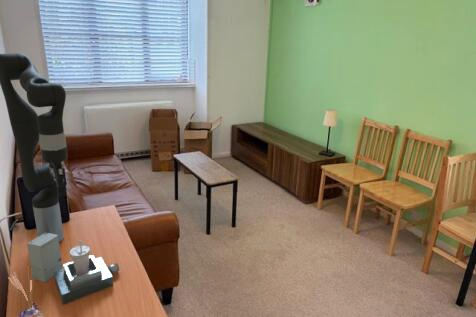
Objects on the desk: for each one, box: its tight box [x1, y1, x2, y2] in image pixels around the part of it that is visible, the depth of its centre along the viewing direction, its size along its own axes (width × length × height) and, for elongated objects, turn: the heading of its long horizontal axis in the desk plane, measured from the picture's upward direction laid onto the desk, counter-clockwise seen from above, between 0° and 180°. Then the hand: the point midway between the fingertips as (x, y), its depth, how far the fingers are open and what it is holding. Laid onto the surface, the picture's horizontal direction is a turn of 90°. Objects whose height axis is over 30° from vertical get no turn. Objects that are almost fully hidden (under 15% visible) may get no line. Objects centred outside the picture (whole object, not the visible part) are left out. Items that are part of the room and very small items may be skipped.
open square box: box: [53, 254, 120, 305], centre depth 119 cm, size 13×20×7 cm, turn 128°
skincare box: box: [26, 232, 64, 284], centre depth 121 cm, size 8×6×15 cm
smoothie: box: [69, 239, 91, 276], centre depth 116 cm, size 6×6×14 cm
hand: (59, 190), depth 115 cm, fingers open, 8 cm apart
